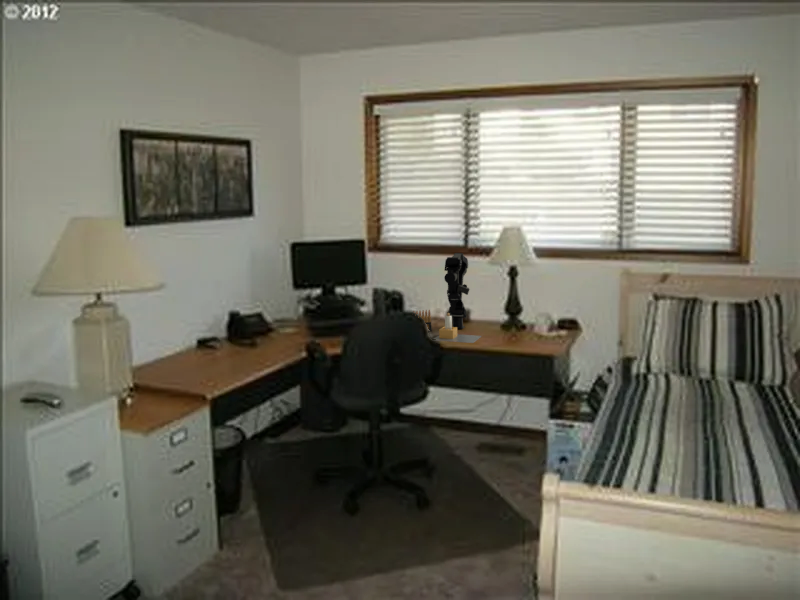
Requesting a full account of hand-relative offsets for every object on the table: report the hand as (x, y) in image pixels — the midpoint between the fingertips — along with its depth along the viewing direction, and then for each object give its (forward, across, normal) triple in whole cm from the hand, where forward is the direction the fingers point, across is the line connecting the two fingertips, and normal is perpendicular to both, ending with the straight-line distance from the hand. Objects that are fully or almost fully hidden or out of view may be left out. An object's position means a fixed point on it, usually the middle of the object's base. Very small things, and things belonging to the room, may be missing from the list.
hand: (453, 309), depth 372 cm
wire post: (+12, -12, +3) cm, 17 cm away
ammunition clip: (+13, +6, +17) cm, 22 cm away
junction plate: (+13, -14, -1) cm, 19 cm away
